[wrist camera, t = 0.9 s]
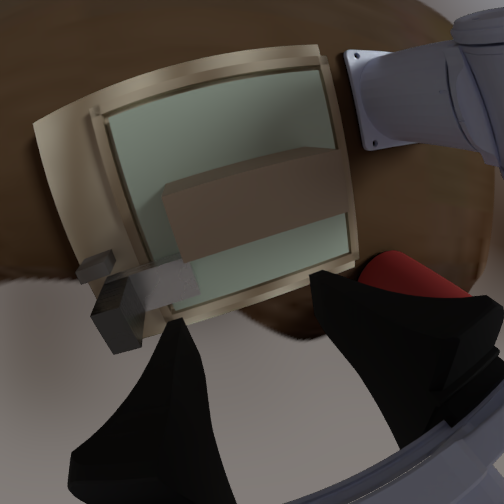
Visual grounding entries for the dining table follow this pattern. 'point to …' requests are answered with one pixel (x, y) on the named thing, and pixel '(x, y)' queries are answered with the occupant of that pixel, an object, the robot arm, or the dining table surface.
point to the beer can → (407, 277)
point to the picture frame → (116, 190)
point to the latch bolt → (140, 298)
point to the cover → (237, 179)
